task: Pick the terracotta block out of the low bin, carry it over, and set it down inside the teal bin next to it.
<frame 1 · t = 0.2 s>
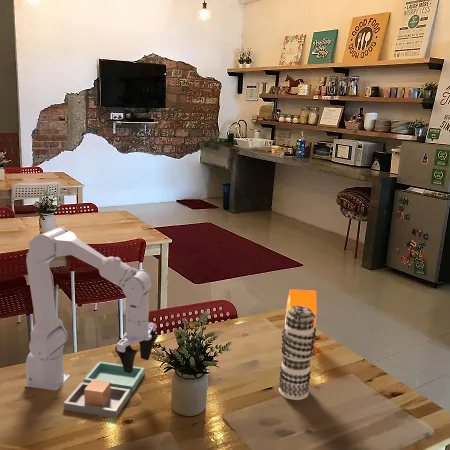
hand: (136, 365, 133), 10 cm above the table, tool pointing down, fingers open, 7 cm apart
condiment: (188, 361, 156), on the table
orange juice: (297, 346, 169), on the table
grey bin: (97, 404, 132), on the table
decorative candle: (293, 392, 142), on the table
teal bin: (115, 381, 143), on the table
terracotta block: (97, 402, 131), resting on grey bin
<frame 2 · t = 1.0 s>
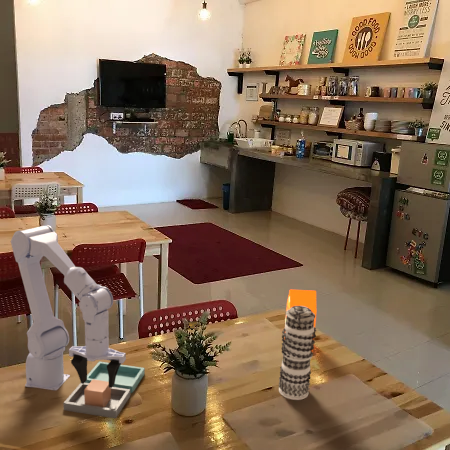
hand: (97, 383, 130), 6 cm above the table, tool pointing down, fingers open, 7 cm apart
nothing on the table moved.
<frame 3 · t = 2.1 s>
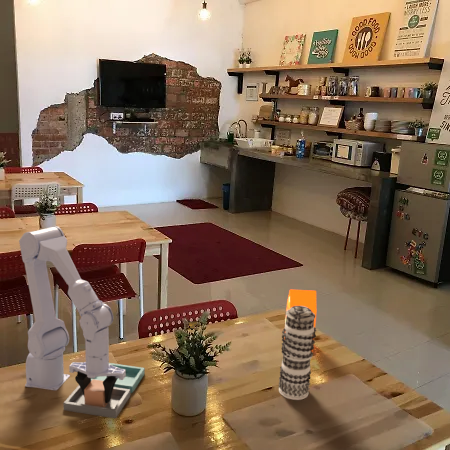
hand: (97, 399, 131), 2 cm above the table, tool pointing down, fingers closed on terracotta block, 5 cm apart
terracotta block: (97, 402, 131), resting on grey bin, touching gripper
everything else where it was.
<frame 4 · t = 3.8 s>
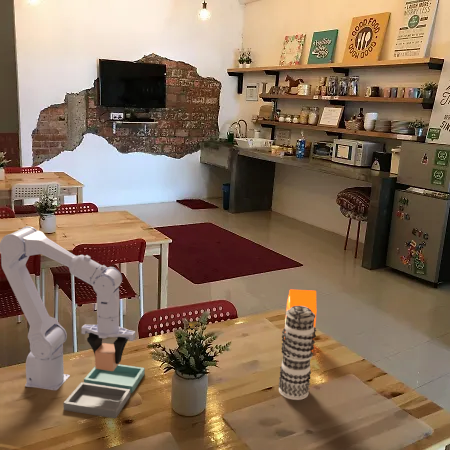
hand: (108, 360, 136), 9 cm above the table, tool pointing down, fingers closed on terracotta block, 5 cm apart
terracotta block: (108, 365, 136), point 8 cm above the table, touching gripper
everything else where it was.
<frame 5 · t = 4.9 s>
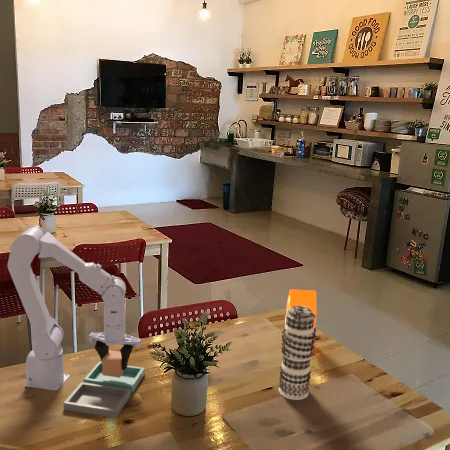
hand: (115, 367, 142), 5 cm above the table, tool pointing down, fingers closed on terracotta block, 5 cm apart
terracotta block: (114, 371, 141), point 3 cm above the table, touching gripper
everything else where it was.
when the fingers open (3 cm above the table, at t = 5.7 s): terracotta block drops 1 cm, resting on teal bin.
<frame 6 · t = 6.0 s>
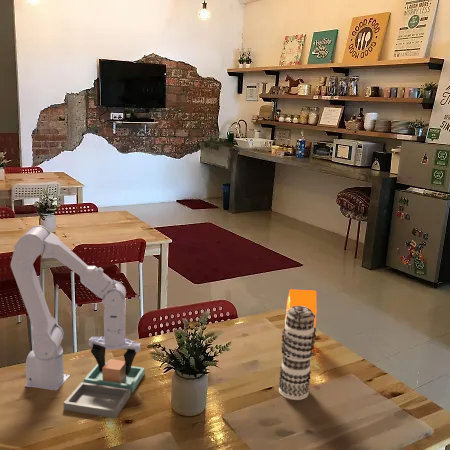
hand: (115, 371, 142), 3 cm above the table, tool pointing down, fingers open, 7 cm apart
terracotta block: (114, 380, 142), resting on teal bin
everything else where it was.
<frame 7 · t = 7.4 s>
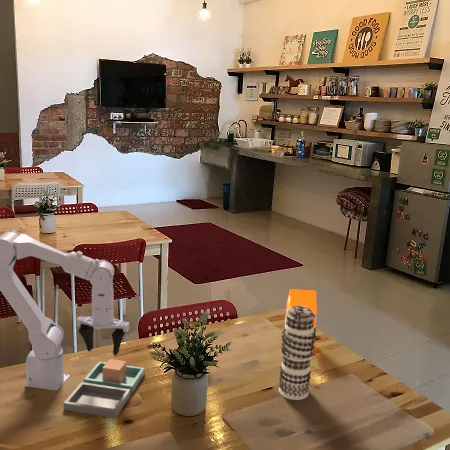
hand: (103, 351, 140), 9 cm above the table, tool pointing down, fingers open, 7 cm apart
nothing on the table moved.
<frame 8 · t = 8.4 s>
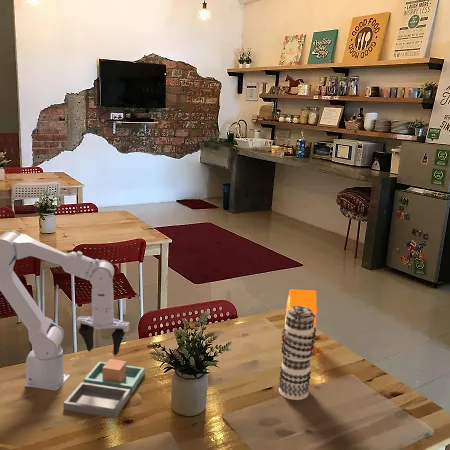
hand: (103, 351, 140), 9 cm above the table, tool pointing down, fingers open, 7 cm apart
nothing on the table moved.
at the end: terracotta block inside the target area on the teal bin (0.3 cm from its centre), point 0.5 cm above the teal bin's base; terracotta block tilted 0°; the gripper is holding nothing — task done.
